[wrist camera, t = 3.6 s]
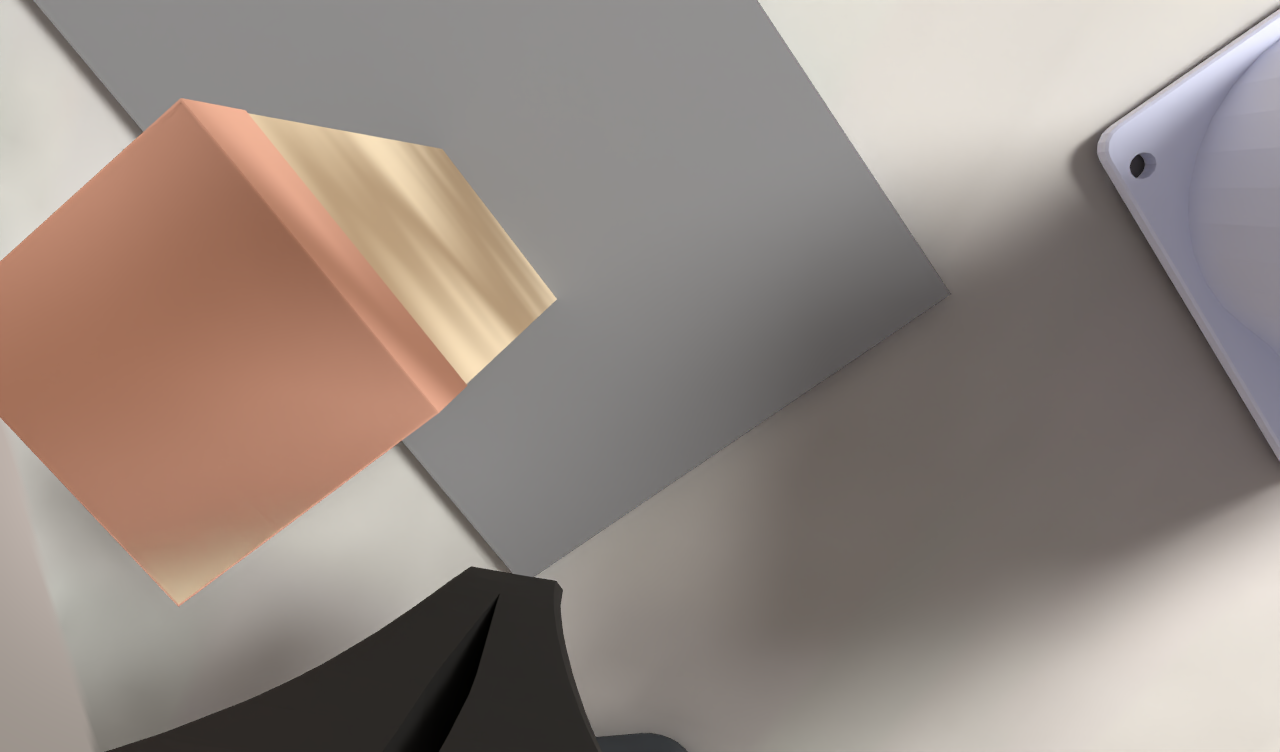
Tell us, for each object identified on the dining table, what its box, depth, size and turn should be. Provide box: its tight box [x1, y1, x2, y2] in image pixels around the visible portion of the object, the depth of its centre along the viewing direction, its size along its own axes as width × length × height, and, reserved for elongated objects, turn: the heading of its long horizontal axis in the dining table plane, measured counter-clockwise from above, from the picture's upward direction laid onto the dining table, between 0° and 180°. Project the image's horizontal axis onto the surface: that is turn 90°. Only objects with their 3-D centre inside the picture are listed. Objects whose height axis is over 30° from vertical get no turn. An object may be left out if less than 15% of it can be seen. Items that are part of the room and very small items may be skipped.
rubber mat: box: [33, 0, 951, 577], centre depth 17 cm, size 18×12×1 cm, turn 37°
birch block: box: [0, 98, 557, 607], centre depth 13 cm, size 4×4×9 cm
